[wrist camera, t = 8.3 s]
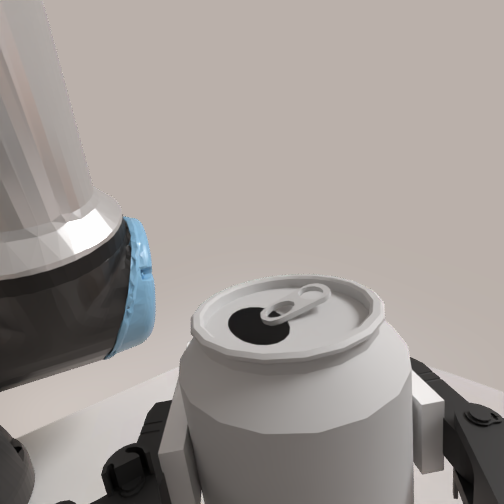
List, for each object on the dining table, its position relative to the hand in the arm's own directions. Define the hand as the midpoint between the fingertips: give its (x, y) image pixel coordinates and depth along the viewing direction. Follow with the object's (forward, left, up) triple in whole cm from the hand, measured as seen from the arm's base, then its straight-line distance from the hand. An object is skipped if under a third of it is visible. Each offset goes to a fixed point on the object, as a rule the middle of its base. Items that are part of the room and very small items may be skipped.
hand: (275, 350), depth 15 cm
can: (0, -5, -7) cm, 9 cm away
